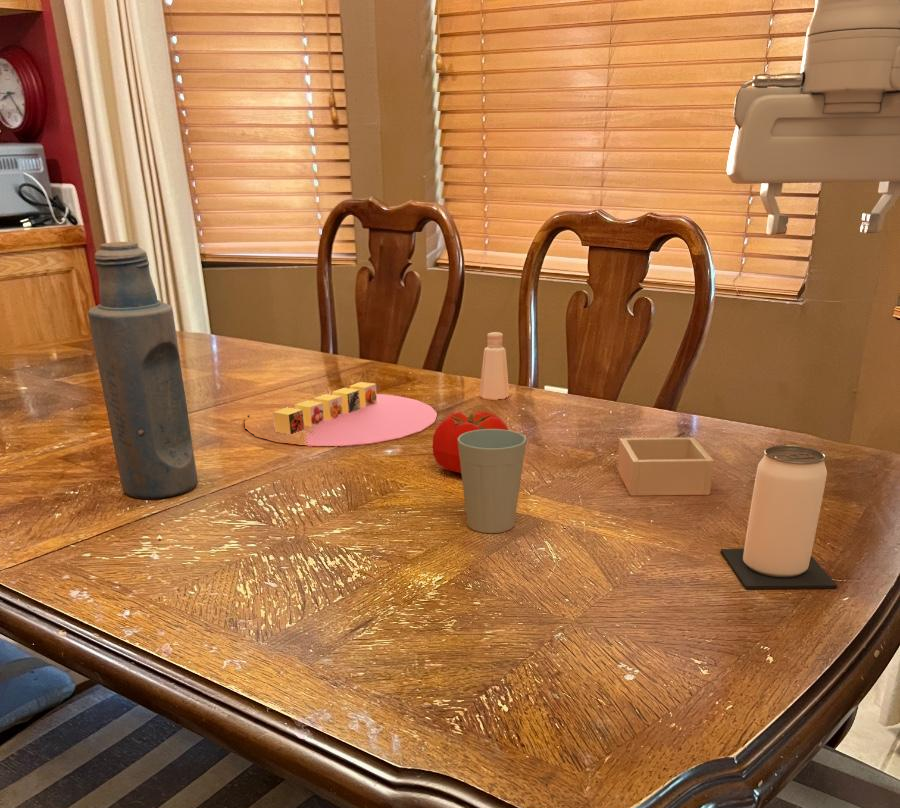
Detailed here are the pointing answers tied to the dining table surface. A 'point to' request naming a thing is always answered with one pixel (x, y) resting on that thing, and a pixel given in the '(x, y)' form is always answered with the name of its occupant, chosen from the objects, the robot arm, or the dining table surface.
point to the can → (785, 510)
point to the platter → (355, 417)
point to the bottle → (141, 376)
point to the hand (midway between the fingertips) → (823, 233)
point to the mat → (754, 580)
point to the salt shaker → (494, 369)
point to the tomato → (453, 428)
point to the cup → (491, 477)
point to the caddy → (664, 466)
